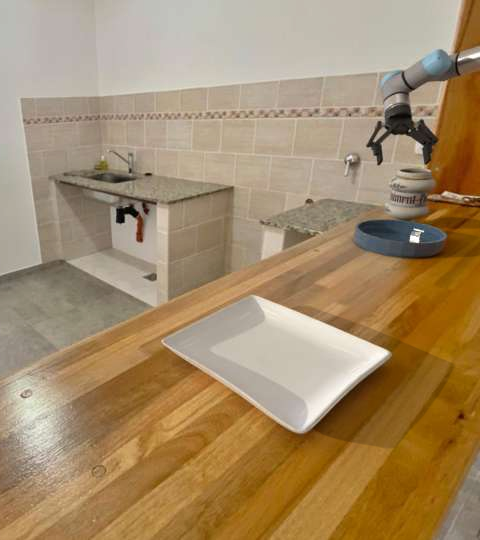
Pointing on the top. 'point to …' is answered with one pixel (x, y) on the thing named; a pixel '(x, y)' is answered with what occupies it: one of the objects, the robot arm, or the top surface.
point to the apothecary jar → (409, 194)
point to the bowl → (399, 238)
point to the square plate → (278, 359)
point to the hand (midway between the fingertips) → (403, 162)
